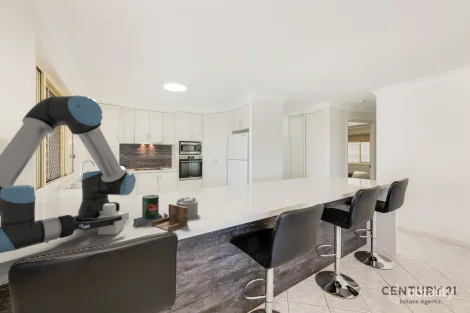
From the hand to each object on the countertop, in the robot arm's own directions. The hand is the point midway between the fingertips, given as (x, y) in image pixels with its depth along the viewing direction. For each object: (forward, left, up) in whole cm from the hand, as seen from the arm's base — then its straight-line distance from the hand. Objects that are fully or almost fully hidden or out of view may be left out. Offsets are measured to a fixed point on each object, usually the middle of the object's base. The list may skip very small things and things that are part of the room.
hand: (121, 213), depth 93 cm
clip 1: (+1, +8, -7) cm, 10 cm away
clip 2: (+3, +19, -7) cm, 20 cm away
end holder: (+13, +15, -7) cm, 21 cm away
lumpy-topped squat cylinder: (+5, +33, -7) cm, 34 cm away
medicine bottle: (0, -4, -7) cm, 8 cm away
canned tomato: (-4, +17, -7) cm, 18 cm away
